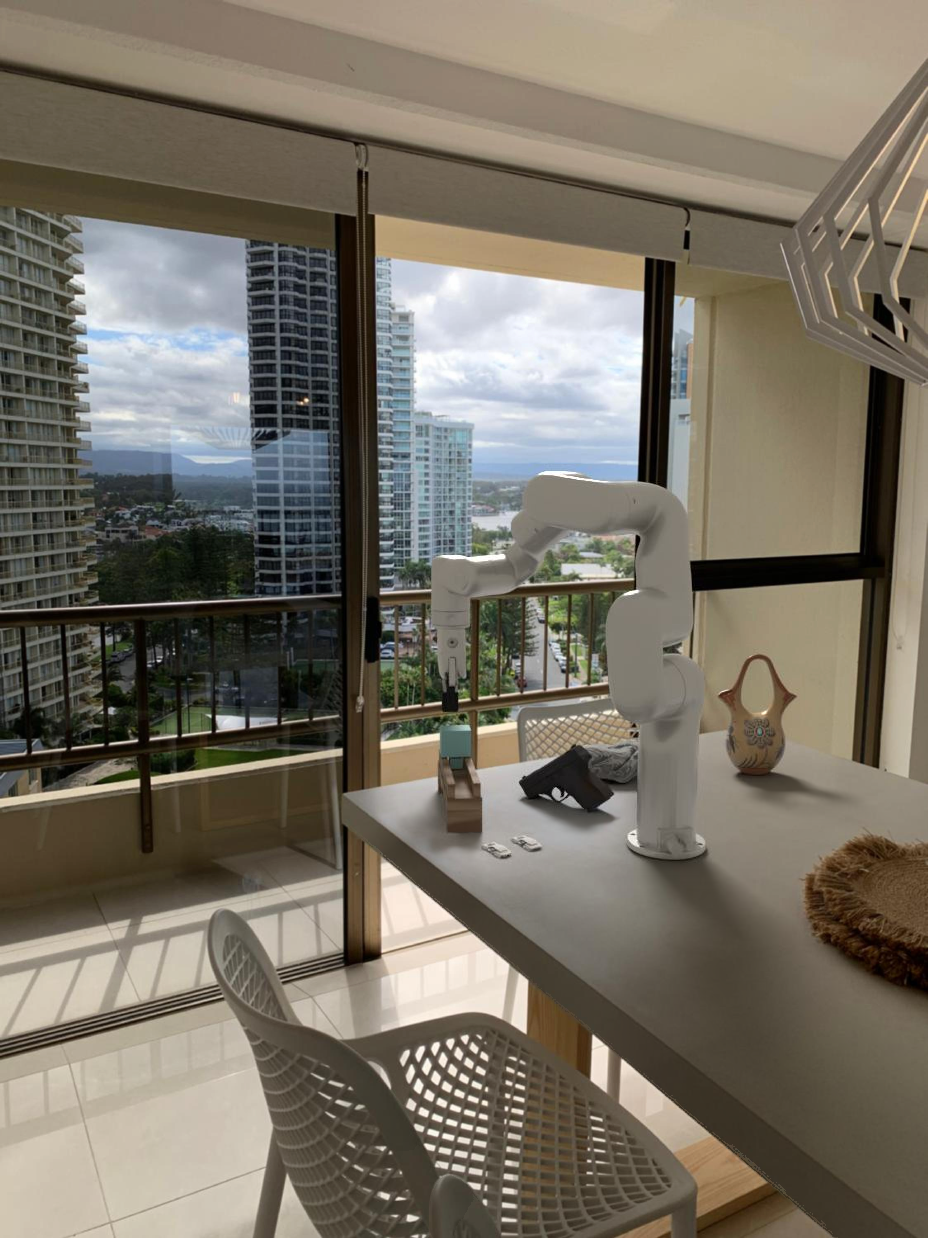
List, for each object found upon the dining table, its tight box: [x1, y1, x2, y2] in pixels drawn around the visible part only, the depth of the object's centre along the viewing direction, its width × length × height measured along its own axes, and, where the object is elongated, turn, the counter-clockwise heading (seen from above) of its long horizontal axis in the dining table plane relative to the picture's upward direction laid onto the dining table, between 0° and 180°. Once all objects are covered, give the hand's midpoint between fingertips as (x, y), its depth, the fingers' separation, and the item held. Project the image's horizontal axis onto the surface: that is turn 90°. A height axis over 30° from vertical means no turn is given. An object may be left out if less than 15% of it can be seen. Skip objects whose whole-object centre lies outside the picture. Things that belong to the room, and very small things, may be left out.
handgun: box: [518, 743, 615, 813], centre depth 171 cm, size 4×16×12 cm
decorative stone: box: [581, 738, 638, 784], centre depth 188 cm, size 15×14×10 cm
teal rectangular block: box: [439, 724, 472, 769], centre depth 173 cm, size 4×6×8 cm
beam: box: [437, 748, 483, 834], centre depth 168 cm, size 24×6×8 cm, turn 5°
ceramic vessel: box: [716, 653, 798, 776], centre depth 189 cm, size 16×9×25 cm, turn 92°
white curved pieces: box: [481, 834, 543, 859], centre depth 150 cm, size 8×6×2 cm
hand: (449, 710), depth 181 cm, fingers closed
